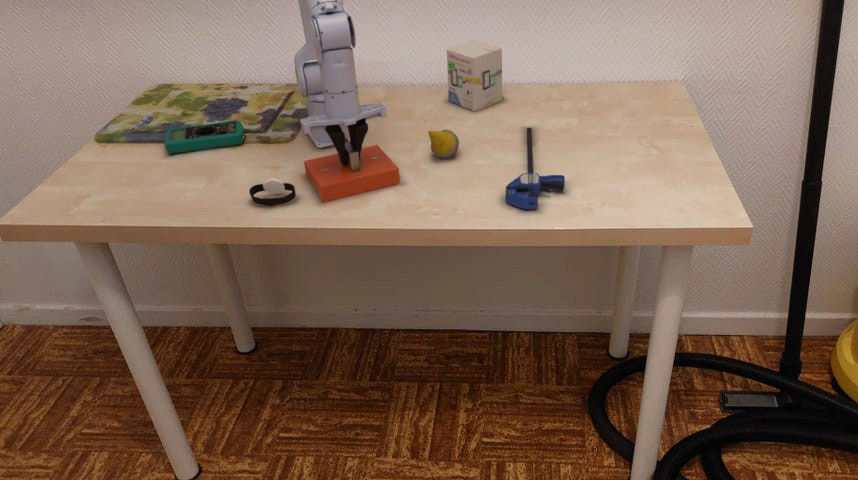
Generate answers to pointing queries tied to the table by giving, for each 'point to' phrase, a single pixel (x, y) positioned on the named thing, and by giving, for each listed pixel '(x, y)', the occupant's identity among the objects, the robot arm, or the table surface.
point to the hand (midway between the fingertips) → (350, 161)
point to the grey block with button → (352, 157)
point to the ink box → (474, 75)
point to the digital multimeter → (204, 137)
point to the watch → (273, 192)
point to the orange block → (351, 174)
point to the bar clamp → (531, 183)
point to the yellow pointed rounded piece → (443, 143)
